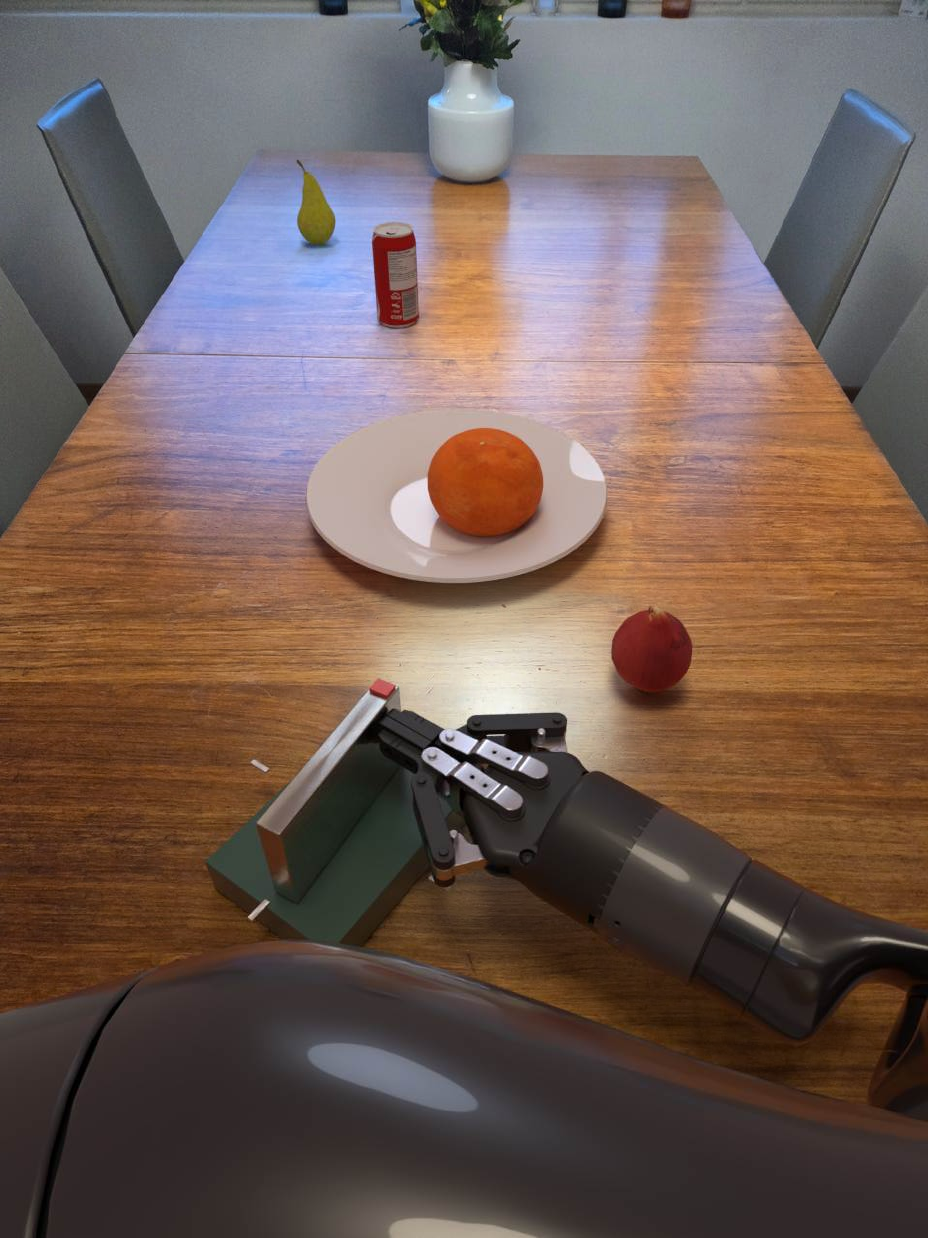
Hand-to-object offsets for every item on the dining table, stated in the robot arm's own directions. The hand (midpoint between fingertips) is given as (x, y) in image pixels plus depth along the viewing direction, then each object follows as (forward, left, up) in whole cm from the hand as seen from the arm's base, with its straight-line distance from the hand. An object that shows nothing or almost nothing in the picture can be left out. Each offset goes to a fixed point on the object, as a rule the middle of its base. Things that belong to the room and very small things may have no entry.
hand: (384, 725), depth 53 cm
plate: (+30, +16, -9) cm, 35 cm away
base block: (-4, 0, -8) cm, 9 cm away
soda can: (+61, +48, -9) cm, 78 cm away
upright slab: (-4, 0, -5) cm, 7 cm away
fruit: (+76, +76, -9) cm, 108 cm away
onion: (+20, -9, -9) cm, 23 cm away
